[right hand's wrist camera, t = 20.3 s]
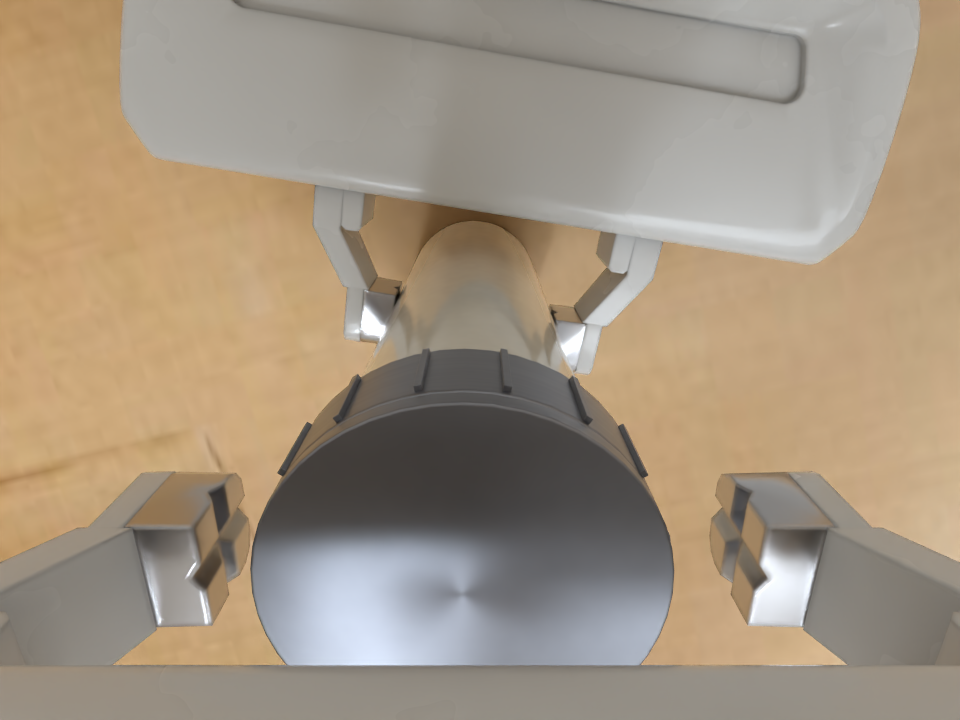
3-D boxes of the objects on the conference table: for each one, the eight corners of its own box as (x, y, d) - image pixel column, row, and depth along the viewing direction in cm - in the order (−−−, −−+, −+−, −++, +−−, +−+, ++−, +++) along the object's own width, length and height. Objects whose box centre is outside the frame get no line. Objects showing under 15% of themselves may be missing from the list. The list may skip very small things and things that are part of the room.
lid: (355, 286, 9) (322, 327, 7) (707, 426, 10) (760, 497, 8) (248, 585, 11) (201, 679, 9) (549, 680, 12) (562, 784, 10)
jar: (534, 338, 26) (621, 680, 10) (416, 341, 26) (317, 687, 10) (535, 219, 24) (643, 404, 8) (408, 222, 24) (272, 412, 8)
